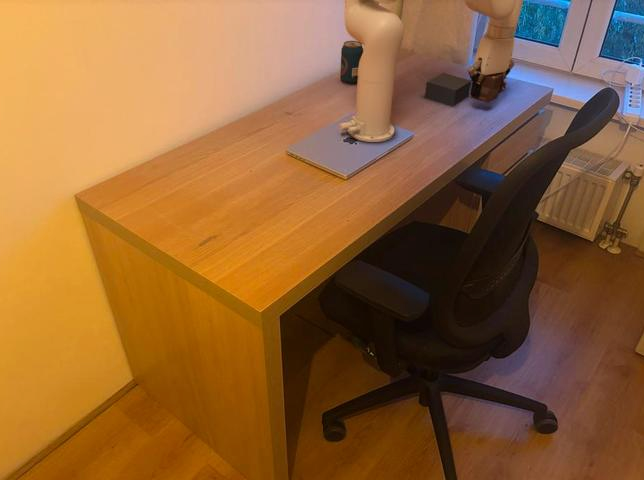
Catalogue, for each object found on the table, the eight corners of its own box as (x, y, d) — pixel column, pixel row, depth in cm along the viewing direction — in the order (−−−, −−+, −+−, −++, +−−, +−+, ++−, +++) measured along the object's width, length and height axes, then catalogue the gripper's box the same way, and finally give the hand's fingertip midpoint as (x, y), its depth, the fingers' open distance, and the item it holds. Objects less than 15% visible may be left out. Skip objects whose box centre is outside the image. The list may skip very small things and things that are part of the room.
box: (498, 98, 159) (504, 73, 154) (488, 104, 156) (494, 79, 151) (479, 92, 162) (485, 68, 157) (469, 98, 159) (475, 73, 154)
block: (452, 106, 162) (455, 90, 158) (424, 97, 167) (426, 81, 163) (468, 96, 168) (471, 80, 164) (440, 87, 172) (443, 72, 169)
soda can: (337, 78, 177) (338, 41, 169) (356, 76, 179) (359, 39, 171) (344, 86, 172) (346, 48, 164) (364, 84, 174) (367, 46, 166)
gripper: (514, 24, 152) (498, 85, 164) (466, 30, 146) (453, 93, 157) (534, 31, 147) (516, 94, 159) (485, 38, 141) (470, 103, 152)
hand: (485, 93), depth 158 cm, fingers closed on box, 7 cm apart
